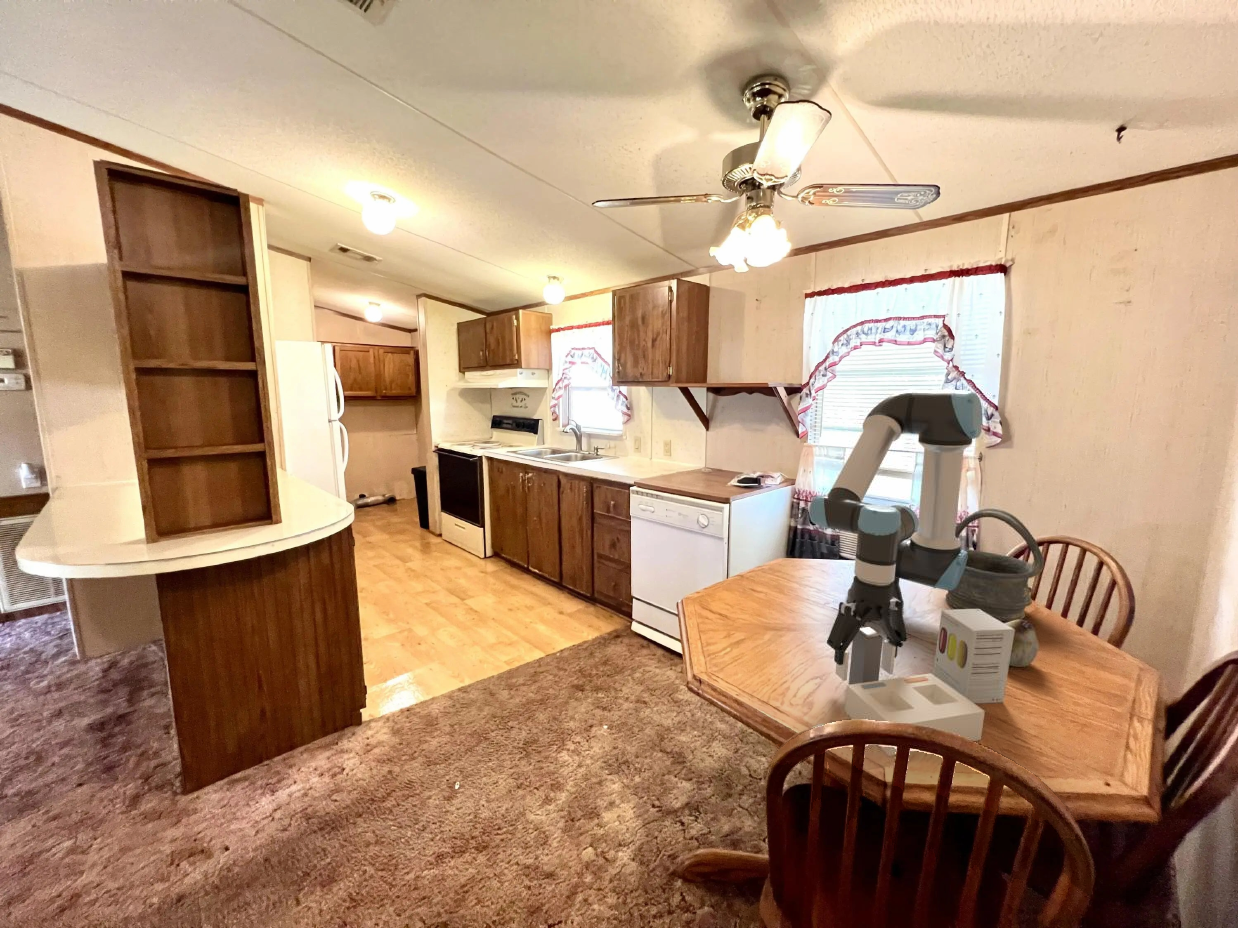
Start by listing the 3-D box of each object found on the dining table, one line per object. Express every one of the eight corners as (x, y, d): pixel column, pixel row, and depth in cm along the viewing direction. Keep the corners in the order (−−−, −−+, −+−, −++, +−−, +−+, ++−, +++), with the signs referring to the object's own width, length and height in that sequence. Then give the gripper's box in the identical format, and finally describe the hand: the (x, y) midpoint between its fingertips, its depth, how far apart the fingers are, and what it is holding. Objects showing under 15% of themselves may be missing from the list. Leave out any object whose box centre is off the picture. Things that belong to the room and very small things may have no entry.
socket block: (926, 698, 102) (929, 671, 101) (980, 739, 90) (984, 710, 89) (843, 710, 98) (846, 683, 96) (888, 755, 86) (892, 725, 85)
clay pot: (968, 586, 158) (980, 498, 153) (1051, 618, 137) (1068, 517, 132) (920, 596, 151) (931, 504, 146) (1001, 632, 129) (1016, 525, 124)
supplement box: (930, 677, 109) (939, 608, 106) (968, 675, 110) (977, 607, 107) (964, 705, 99) (974, 630, 97) (1005, 703, 100) (1016, 628, 97)
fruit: (1021, 677, 109) (1029, 629, 107) (975, 657, 117) (981, 611, 115) (1043, 666, 114) (1050, 619, 112) (997, 646, 122) (1003, 602, 120)
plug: (864, 681, 107) (869, 625, 105) (877, 692, 103) (883, 634, 101) (848, 683, 106) (853, 627, 104) (861, 694, 103) (866, 636, 100)
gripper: (906, 567, 107) (896, 658, 110) (813, 575, 102) (806, 669, 106) (935, 581, 99) (923, 677, 103) (836, 590, 95) (827, 690, 98)
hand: (864, 673), depth 104 cm, fingers open, 11 cm apart
